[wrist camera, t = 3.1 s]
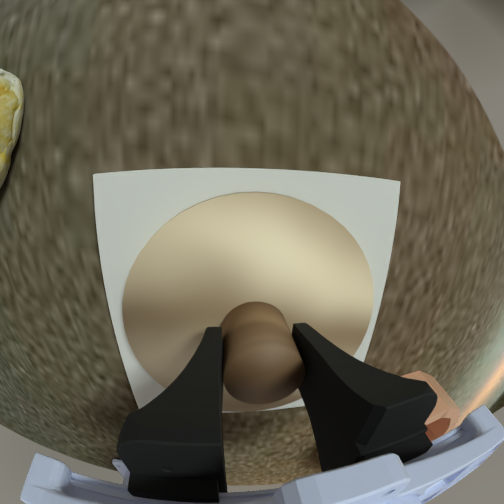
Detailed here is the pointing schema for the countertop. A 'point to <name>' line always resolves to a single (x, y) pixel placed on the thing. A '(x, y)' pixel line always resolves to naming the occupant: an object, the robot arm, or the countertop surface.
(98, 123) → the countertop surface
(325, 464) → the robot arm
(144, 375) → the mat
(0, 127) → the bread roll
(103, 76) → the countertop surface
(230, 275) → the lid
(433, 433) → the bowl
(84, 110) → the countertop surface
